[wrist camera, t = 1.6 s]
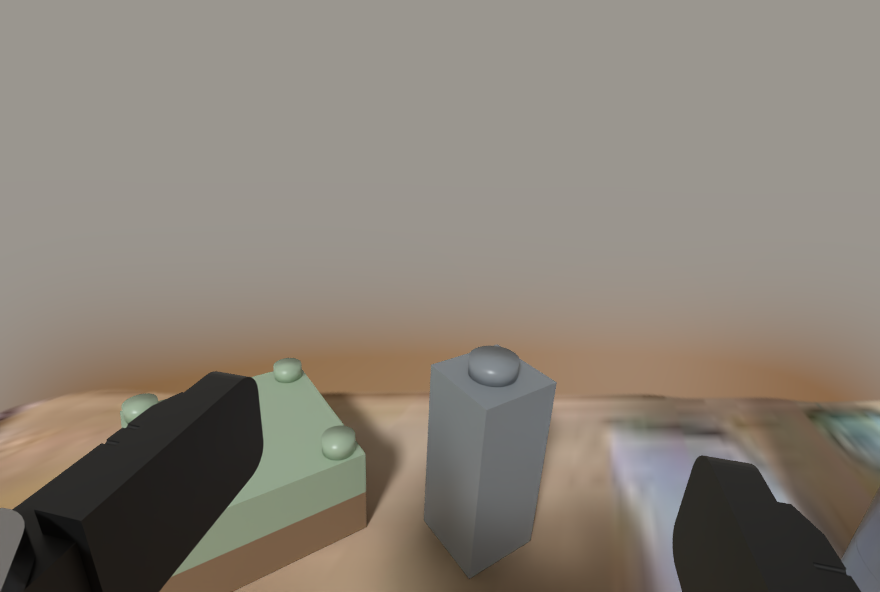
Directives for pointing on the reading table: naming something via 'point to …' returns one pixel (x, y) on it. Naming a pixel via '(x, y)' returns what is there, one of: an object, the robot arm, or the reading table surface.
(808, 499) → the reading table surface
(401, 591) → the reading table surface
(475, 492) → the tall brick
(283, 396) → the tower base
